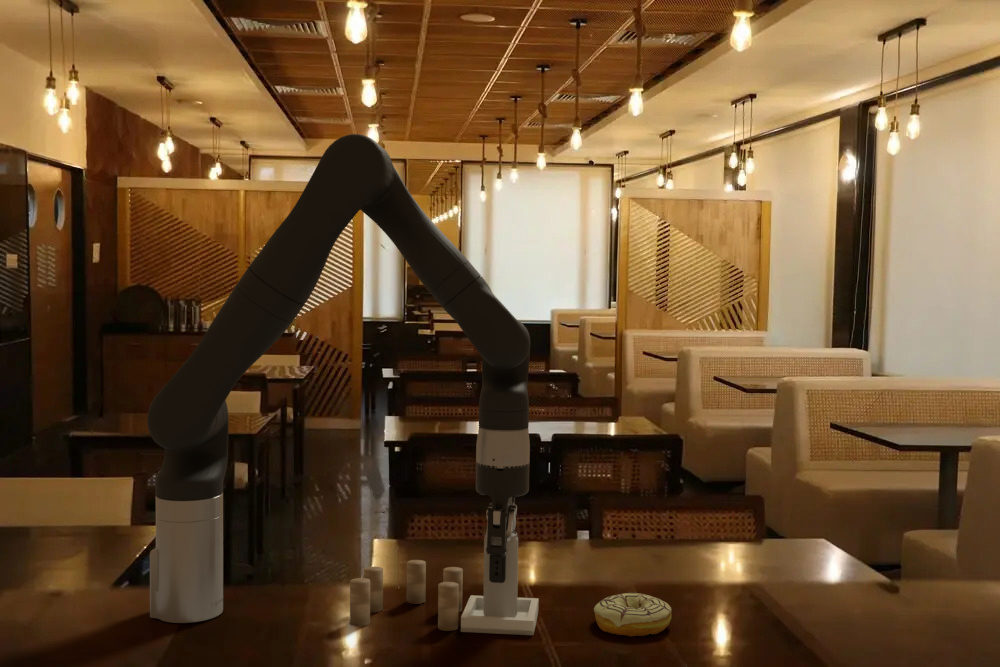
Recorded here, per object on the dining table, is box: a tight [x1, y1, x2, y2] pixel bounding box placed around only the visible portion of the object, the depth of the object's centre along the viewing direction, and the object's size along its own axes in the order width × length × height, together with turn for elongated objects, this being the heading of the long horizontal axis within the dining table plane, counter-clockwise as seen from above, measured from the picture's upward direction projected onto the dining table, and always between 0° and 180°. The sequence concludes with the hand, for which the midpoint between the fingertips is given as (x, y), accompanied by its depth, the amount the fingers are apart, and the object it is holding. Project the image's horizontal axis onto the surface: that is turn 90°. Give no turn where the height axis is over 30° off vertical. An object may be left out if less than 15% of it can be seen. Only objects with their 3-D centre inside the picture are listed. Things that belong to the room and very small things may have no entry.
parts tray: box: [460, 594, 540, 636], centre depth 144 cm, size 10×10×2 cm
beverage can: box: [483, 530, 519, 618], centre depth 144 cm, size 5×5×12 cm
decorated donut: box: [593, 592, 673, 638], centre depth 143 cm, size 10×11×4 cm
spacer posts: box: [349, 559, 464, 632], centre depth 147 cm, size 15×13×6 cm
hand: (500, 573), depth 144 cm, fingers open, 8 cm apart
